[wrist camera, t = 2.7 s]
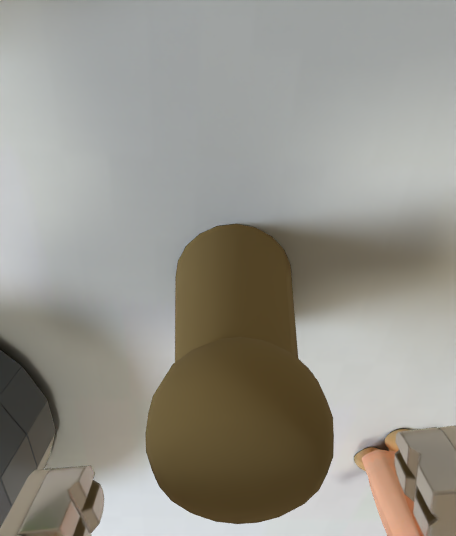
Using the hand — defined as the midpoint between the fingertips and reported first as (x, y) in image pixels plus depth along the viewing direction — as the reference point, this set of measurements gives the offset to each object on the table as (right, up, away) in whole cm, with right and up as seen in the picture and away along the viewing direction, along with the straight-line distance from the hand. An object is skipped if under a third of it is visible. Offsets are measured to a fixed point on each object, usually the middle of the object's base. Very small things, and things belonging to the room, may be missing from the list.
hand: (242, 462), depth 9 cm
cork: (0, +5, +9) cm, 10 cm away
